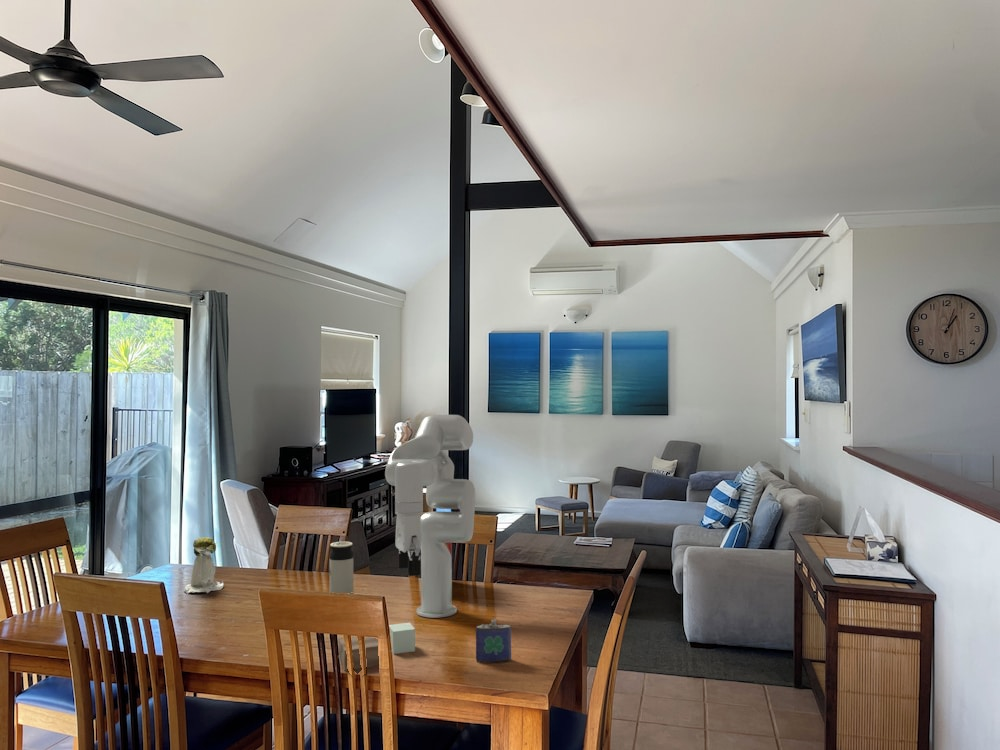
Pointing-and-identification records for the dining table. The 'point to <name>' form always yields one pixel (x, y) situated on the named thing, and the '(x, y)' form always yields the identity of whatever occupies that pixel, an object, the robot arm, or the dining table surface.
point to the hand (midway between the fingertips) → (409, 571)
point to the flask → (493, 643)
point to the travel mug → (341, 567)
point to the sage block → (402, 638)
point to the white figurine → (203, 567)
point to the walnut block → (370, 652)
